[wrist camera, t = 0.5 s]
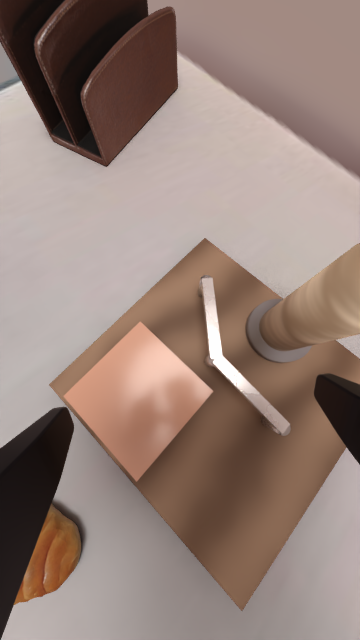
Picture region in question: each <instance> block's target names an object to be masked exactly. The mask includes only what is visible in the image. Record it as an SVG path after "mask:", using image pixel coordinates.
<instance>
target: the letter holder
mask: <svg viewBox="0 0 360 640" xmlns="http://www.w3.org/2000/svg"><path fill="white" fill-rule="evenodd" d="M0 42H1V44H2V46H3V48H4V50H5V52H6V54H7V55H8V57H9V59H10V61H11V63H12V64H13V67H14V68H15V70H16V72H17V74H18V76H19V78H20V79H21V81H22V83H23V85H24V87H25V89H26V91H27V93H28V95H29V96H30V98H31V100H32V102H33V104H34V106H35V108H36V110H37V111H38V113H39V115H40V117H41V119H42V121H43V123H44V125H45V127H46V128H47V130H48V132H49V135H50V136H51V138H52V140H53V141H54V142H56V143H58V144H60V145H62V146H64V147H66V148H68V149H70V150H72V151H75V152H77V153H79V154H81V155H83V156H85V157H87V158H89V159H91V160H94V161H95V162H98V163H100V164H102V165H104V166H107V165H108V164H109V163H110V162H111V161H112V160H113V159H114V157H115V156H116V155H117V154H118V153H119V152H120V151H121V150H122V149H123V148H124V146H125V145H126V144H127V143H128V142H129V141H130V140H131V139H132V138H133V137H134V136H135V134H136V133H137V132H138V131H139V130H140V129H141V128H142V127H143V126H144V124H145V123H146V122H147V121H148V120H149V119H150V118H151V117H152V116H153V115H154V114H155V112H156V111H157V110H158V109H159V108H160V107H161V106H162V105H163V103H164V102H165V101H166V100H167V99H168V98H169V97H170V96H171V94H172V93H173V92H174V91H175V90H176V89H177V87H178V76H177V40H176V16H175V11H174V9H173V8H172V7H166V8H163V9H160V10H158V11H156V12H154V13H152V14H151V15H149V16H148V4H147V0H0Z"/></svg>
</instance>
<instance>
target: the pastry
mask: <svg viewBox="0 0 360 640" xmlns="http://www.w3.org/2000/svg"><path fill="white" fill-rule="evenodd" d="M80 553H81V540H80V534H79V530H78V527H77V525H76V524H75V523H74V522H73V521H72V520H70V519H68V518H66V517H65V516H63V515H62V514H61V512H60V511H59V510H57V509H56V508H55V507H54V506H53V504H52V503H51V506H50V509H49V511H48V514H47V517H46V519H45V522H44V525H43V527H42V530H41V533H40V536H39V538H38V541H37V544H36V546H35V549H34V552H33V554H32V557H31V560H30V562H29V565H28V568H27V570H26V573H25V576H24V579H23V581H22V584H21V587H20V589H19V592H18V595H17V597H16V600H15V603H14V605H15V604H17V603H19V602H27V601H29V600H30V599H33V598H35V597H42V596H43V595H45V594H47V593H51V592H53V591H55V590H57V589H58V588H59V587H60V586H61V585H62V584H63V582H64V581H65V580H66V579H67V578H68V577H69V575H70V574H71V573H72V572H73V571H74V569H75V567H76V566H77V564H78V561H79V557H80Z"/></svg>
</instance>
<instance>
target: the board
mask: <svg viewBox="0 0 360 640" xmlns="http://www.w3.org/2000/svg"><path fill="white" fill-rule="evenodd" d="M203 275H209V276H211V277H212V278H213V286H214V294H215V302H216V309H217V317H218V325H219V333H220V341H221V349H222V356H223V357H224V358H225V359H226V360H227V361H228V362H229V363H230V364H231V365H232V366H233V367H234V368H235V369H236V370H237V371H238V372H239V373H240V374H241V375H242V376H243V377H244V378H245V379H246V380H247V381H248V382H249V383H250V384H251V385H252V386H253V387H254V388H255V389H256V390H257V391H258V392H259V393H260V394H261V395H262V396H263V397H264V398H265V399H266V400H267V401H268V402H269V403H270V404H271V405H272V406H273V407H274V408H275V409H276V410H277V411H278V412H279V413H280V414H281V415H282V416H283V417H284V418H285V419H286V420H287V421H288V422H289V423H290V427H291V430H290V433H289V434H288V435H286V436H282V435H280V434H278V433H276V432H275V431H273V430H271V429H269V428H268V427H266V426H264V425H263V424H262V422H261V416H262V415H261V414H260V413H259V412H258V411H257V410H256V409H255V408H254V407H253V406H252V405H251V404H250V403H249V402H248V401H247V400H246V399H245V398H244V397H243V396H242V395H241V394H240V393H239V392H238V391H237V390H236V389H235V388H234V386H233V385H232V384H231V383H230V382H229V381H228V380H227V379H226V378H225V377H224V376H223V375H222V374H221V373H220V372H219V371H218V370H217V369H216V368H215V367H208V366H206V364H205V358H206V357H207V356H208V355H209V353H208V344H207V335H206V326H205V317H204V308H203V299H202V298H201V297H199V296H198V288H199V283H200V279H201V277H202V276H203ZM271 299H282V298H281V297H280V296H279V295H277V294H276V293H275V292H273V291H272V290H271V289H270V288H268V287H267V286H266V285H264V284H263V283H262V282H261V281H259V280H258V279H257V278H256V277H254V276H253V275H252V274H250V273H249V272H248V271H247V270H245V269H244V268H243V267H241V266H240V265H239V264H238V263H236V262H235V261H234V260H233V259H231V258H230V257H229V256H227V255H226V254H225V253H224V252H222V251H221V250H220V249H218V248H217V247H216V246H215V245H213V244H212V243H211V242H209V241H208V240H207V239H206V238H204V239H203V240H202V241H201V242H200V243H199V244H198V245H197V246H196V247H195V248H194V249H193V250H192V251H191V252H189V253H188V254H187V255H186V256H185V257H184V258H183V259H182V260H181V261H180V262H179V263H178V264H177V265H176V266H175V267H174V268H172V269H171V270H170V271H169V272H168V273H167V274H166V275H165V276H164V277H163V278H162V279H161V280H160V281H159V282H158V283H157V284H155V285H154V286H153V287H152V288H151V289H150V290H149V291H148V292H147V293H146V294H145V295H144V296H143V297H142V298H141V299H140V300H139V301H137V302H136V303H135V304H134V305H133V306H132V307H131V308H130V309H129V310H128V311H127V312H126V313H125V314H124V315H123V316H122V317H120V318H119V319H118V320H117V321H116V322H115V323H114V324H113V325H112V326H111V327H110V328H109V329H108V330H107V331H106V332H105V333H103V334H102V335H101V336H100V337H99V338H98V339H97V340H96V341H95V342H94V343H93V344H92V345H91V346H90V347H89V348H88V349H86V350H85V351H84V352H83V353H82V354H81V355H80V356H79V357H78V358H77V359H76V360H75V361H74V362H73V363H72V364H71V365H69V366H68V367H67V368H66V369H65V370H64V371H63V372H62V373H61V374H60V375H59V376H58V377H57V378H56V379H55V380H54V381H52V382H51V383H50V384H49V385H50V386H51V388H52V389H53V390H54V391H55V392H56V393H57V395H58V396H59V397H60V398H61V399H62V401H63V402H64V403H65V404H66V405H67V406H68V408H69V409H70V410H71V411H72V412H73V413H74V415H75V416H76V417H77V418H78V419H79V420H80V422H81V423H82V424H83V425H84V426H85V428H86V429H87V430H88V431H89V432H90V433H91V435H92V436H93V437H94V438H95V439H96V440H97V442H98V443H99V444H100V445H101V446H102V447H103V449H104V450H105V451H106V452H107V453H108V455H109V456H110V457H111V458H112V459H113V460H114V462H115V463H116V464H117V465H118V466H119V467H120V469H121V470H122V471H123V472H124V473H125V474H126V476H127V477H128V478H129V479H130V480H131V482H132V483H133V484H134V485H135V486H136V487H137V489H138V490H139V491H140V492H141V493H142V494H143V496H144V497H145V498H146V499H147V500H148V501H149V503H150V504H151V505H152V506H153V507H154V509H155V510H156V511H157V512H158V513H159V514H160V516H161V517H162V518H163V519H164V520H165V521H166V523H167V524H168V525H169V526H170V527H171V528H172V530H173V531H174V532H175V533H176V534H177V536H178V537H179V538H180V539H181V540H182V541H183V543H184V544H185V545H186V546H187V547H188V548H189V550H190V551H191V552H192V553H193V554H194V555H195V557H196V558H197V559H198V560H199V561H200V562H201V564H202V565H203V566H204V567H205V568H206V570H207V571H208V572H209V573H210V574H211V575H212V577H213V578H214V579H215V580H216V581H217V582H218V584H219V585H220V586H221V587H222V588H223V589H224V591H225V592H226V593H227V594H228V595H229V597H230V598H231V599H232V600H233V601H234V602H235V604H236V605H237V606H238V607H239V608H240V609H241V611H242V610H243V609H244V607H245V606H246V604H247V602H248V601H249V599H250V598H251V596H252V595H253V593H254V591H255V590H256V588H257V587H258V585H259V584H260V582H261V580H262V579H263V577H264V576H265V574H266V573H267V571H268V569H269V568H270V566H271V565H272V563H273V562H274V560H275V558H276V557H277V555H278V554H279V552H280V551H281V549H282V547H283V546H284V544H285V543H286V541H287V540H288V538H289V536H290V535H291V533H292V532H293V530H294V529H295V527H296V525H297V524H298V522H299V521H300V519H301V518H302V516H303V515H304V513H305V511H306V510H307V508H308V507H309V505H310V504H311V502H312V500H313V499H314V497H315V496H316V494H317V493H318V491H319V489H320V488H321V486H322V485H323V483H324V482H325V480H326V478H327V477H328V475H329V474H330V472H331V471H332V469H333V467H334V466H335V464H336V463H337V461H338V460H339V458H340V456H341V455H342V453H343V452H344V450H345V449H346V446H345V444H344V443H343V441H342V440H341V439H340V437H339V436H338V434H337V433H336V431H335V429H334V428H333V426H332V425H331V423H330V421H329V420H328V418H327V417H326V415H325V414H324V412H323V410H322V409H321V407H320V406H319V404H318V402H317V401H316V399H315V397H314V387H315V382H316V377H317V376H318V375H319V374H325V373H331V374H334V375H337V376H339V377H342V378H344V379H347V380H350V381H352V382H355V383H357V384H360V359H359V358H358V357H357V356H355V355H354V354H353V353H351V352H350V351H349V350H348V349H346V348H345V347H344V346H343V345H341V344H340V343H339V342H337V341H336V340H332V341H328V342H324V343H320V344H316V345H312V347H311V349H310V350H309V352H308V353H307V354H306V355H305V356H303V357H302V358H300V359H298V360H296V361H291V362H284V363H276V362H271V361H268V360H266V359H264V358H262V357H261V356H259V355H258V354H257V353H256V352H255V351H254V350H253V349H252V348H251V346H250V344H249V342H248V340H247V337H246V330H245V328H246V321H247V319H248V317H249V315H250V313H251V312H252V311H253V310H254V309H255V308H256V307H257V306H258V305H260V304H261V303H263V302H265V301H267V300H271ZM139 322H141V323H142V324H144V325H145V326H146V327H147V328H148V329H149V330H150V331H151V332H152V333H153V334H154V335H155V336H156V337H157V338H158V339H159V340H160V341H161V342H162V343H163V344H164V345H166V346H167V347H168V348H169V349H170V350H171V351H172V352H173V353H174V354H175V355H176V356H177V357H178V358H179V359H180V360H181V361H182V362H183V363H184V364H185V365H186V366H188V367H189V368H190V369H191V370H192V371H193V372H194V373H195V374H196V375H197V376H198V377H199V378H200V379H201V380H202V381H203V382H204V383H205V384H206V385H207V386H208V387H210V388H211V389H212V390H213V392H212V394H211V395H210V396H209V397H208V398H207V399H206V401H205V402H204V403H203V404H202V405H201V407H200V408H199V409H198V410H197V411H196V412H195V414H194V415H193V416H192V417H191V418H190V420H189V421H188V422H187V423H186V424H185V425H184V427H183V428H182V429H181V430H180V431H179V432H178V434H177V435H176V436H175V437H174V438H173V440H172V441H171V442H170V443H169V444H168V445H167V447H166V448H165V449H164V450H163V451H162V453H161V454H160V455H159V456H158V457H157V458H156V460H155V461H154V462H153V463H152V464H151V466H150V467H149V468H148V469H147V470H146V471H145V473H144V474H143V475H142V476H141V477H140V478H139V480H138V481H137V482H136V481H135V479H134V478H133V477H132V476H131V475H130V474H129V472H128V471H127V470H126V469H125V468H124V467H123V465H122V464H121V463H120V462H119V461H118V460H117V458H116V457H115V456H114V455H113V454H112V453H111V451H110V450H109V449H108V448H107V447H106V446H105V444H104V443H103V442H102V441H101V440H100V439H99V437H98V436H97V435H96V434H95V433H94V432H93V430H92V429H91V428H90V427H89V426H88V425H87V423H86V422H85V421H84V420H83V419H82V418H81V416H80V415H79V414H78V413H77V412H76V411H75V409H74V408H73V407H72V406H71V405H70V404H69V402H68V401H67V400H66V399H65V398H64V397H63V396H64V395H65V394H66V393H67V392H68V391H69V390H70V389H71V388H72V387H73V386H74V385H75V384H76V383H77V382H78V381H79V380H80V379H81V378H82V377H83V376H84V375H85V374H86V373H87V372H89V371H90V370H91V369H92V368H93V367H94V366H95V365H96V364H97V363H98V362H99V361H100V360H101V359H102V358H103V357H104V356H105V355H106V354H107V353H108V352H109V351H110V350H111V349H112V348H113V347H114V346H115V345H116V344H117V343H118V342H119V341H120V340H121V339H122V338H124V337H125V336H126V335H127V334H128V333H129V332H130V331H131V330H132V329H133V328H134V327H135V326H136V325H137V324H138V323H139Z"/></svg>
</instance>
